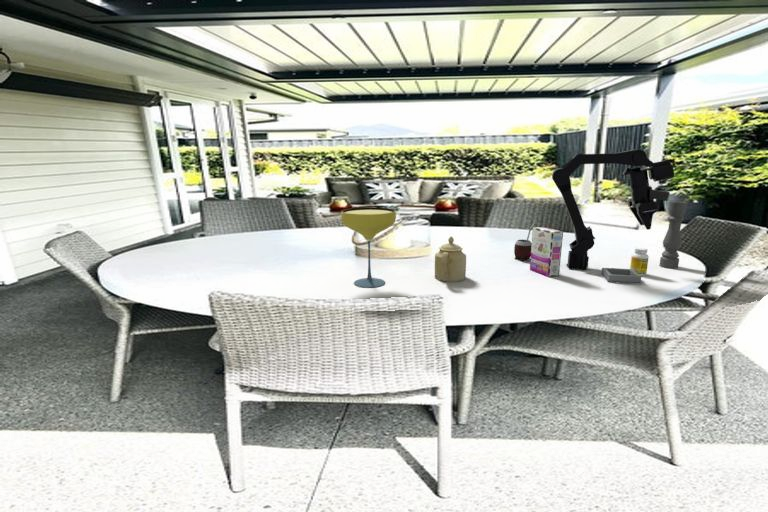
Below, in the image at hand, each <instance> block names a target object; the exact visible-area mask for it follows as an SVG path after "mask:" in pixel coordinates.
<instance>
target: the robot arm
mask: <svg viewBox="0 0 768 512" xmlns="http://www.w3.org/2000/svg"><path fill="white" fill-rule="evenodd" d="M601 164H602V165H604V164H608V165H609V164H610V165H611V164H616V165H617V164H619V165H626V166H633V167H634V168H629V167H625V169H624V171H622V173H621V174H622V175H624V176H626V175H628V178H629V179H628V180H629V185H630V188H629V192H630V193H631V198H629V199H628V200H627V202H626V203H627V207H629V210H630V211H631V213H632V215H634V217H635V219H636V220H637V222H638V223H639V225H640V226H644V227H645V229H646V230H651V228H652V223H653V217H654V214H655V213H656V212H658V210H659V209H660V204H659V202H657V201H656V200H659V201H660V200H661V201H663V202H668V200H669V197H670V193H671V192H670V191H668V190H667V191H666V190H663V188H662V187H660V186H656V187H655V188H654V189H653V187H652V186H651V185H650V181H649V180H652V181H653V182H660V181H666V180H671V179H674V178H675V170H674V168H673V164H672V163H671V159H669V158H668V159H663V160H661V161H656V162H653V161H652V160H651V159H649V158H648V155H647V153H646V151H645V150H642V149H639V148H637V149H631V150H629V149H628V150H625V151H620V152H615V153H613V152H612V153H608V152H607V153H576V154H574V155H573V157H572V158H571V159H569V160H568V161H567V162H566V163H565V164H563V165H562V167H559V168H556V169H555V170H553V172H552V173H551V179H552V180H553V182H554V184H555V185H556V188H557V190H559V192H560V194H561V195H562V199H563V202H564V204H565V206H566V209H567V212H568V215H569V217H570V220H571V222H572V223H571V224H572V226H573V230H574V240H573V241H571V243H569V249H570V250H568V252H567V253H568V254H567V255H568V256H567V263H566V264H565V265H566V267H567V268H568V269H569V270H581V271H582V270H584V271H587V270H588V268H589V267H588V266H589V260H590V259H589V258H590V257H589V256H588V255H589V253H588V252H589V250H591V249H593V247H594V245H595V240H596V238H595V235H594V234H593V229H592V228H591V226H587V227H586V225H585V223H584V221H583V220H584V219H583V217H582V215H581V212H580V209H579V206H578V204H577V201H576V198H575V196H574V193H573V191H572V183H571V177H570V176H571V175H572V174H573V173H574V172H575V171H576V170H577V169H578V168H579V167H580V166H581V165H601ZM641 167H643V168H641ZM644 167H645V168H644Z"/></svg>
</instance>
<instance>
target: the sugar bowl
mask: <svg viewBox="0 0 768 512" xmlns="http://www.w3.org/2000/svg"><path fill="white" fill-rule="evenodd" d="M447 240H448V242H447V243H445V244H442V245H441V246H440V247H438V252H436V253H435V254H434V278H435V279H436V280H439V281H442V282H448V283H449V282H450V283H451V282H462V281H464V280H465V279H466V273H467V272H466V271H467V255H466V253H464V252H463V251H462V250H463V247H461V246H460V245H459V244H456V243H454V242H455V241H454V240H455V239H454V237H453V236H452V235H451V236H450V237H448V239H447Z"/></svg>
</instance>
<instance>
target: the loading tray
mask: <svg viewBox="0 0 768 512" xmlns="http://www.w3.org/2000/svg"><path fill="white" fill-rule="evenodd" d="M601 274H602V275H603V276H602V275H601ZM600 275H601V276H602V277H603V278H604V279H605V280H606V281H607V283H616V282H619V283H622V284H637V285H641V284H642V276H640V275H639V274H637V273H636V272H635V271H634V270H633V269H630V268H615V267H614V268H613V267H602V268H601V273H600Z"/></svg>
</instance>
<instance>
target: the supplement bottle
mask: <svg viewBox="0 0 768 512" xmlns="http://www.w3.org/2000/svg"><path fill="white" fill-rule="evenodd" d="M649 259H650V257H649V255H648V248H646V247H634V253H632V254H631V259H630V266H629V267H630V268H629V269H633V270H634V271H635V272H636V273H637V274H639V275H640V276H641V277H644V276H647V271H648V267H649V266H648V265H649Z"/></svg>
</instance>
